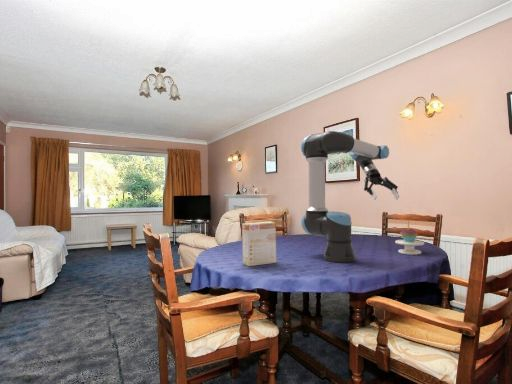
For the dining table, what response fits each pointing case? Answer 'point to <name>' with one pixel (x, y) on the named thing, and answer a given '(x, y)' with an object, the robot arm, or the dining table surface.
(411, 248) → the cake stand
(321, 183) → the robot arm
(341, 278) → the dining table surface
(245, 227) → the coffeecake box
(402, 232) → the cupcake
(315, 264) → the dining table surface
